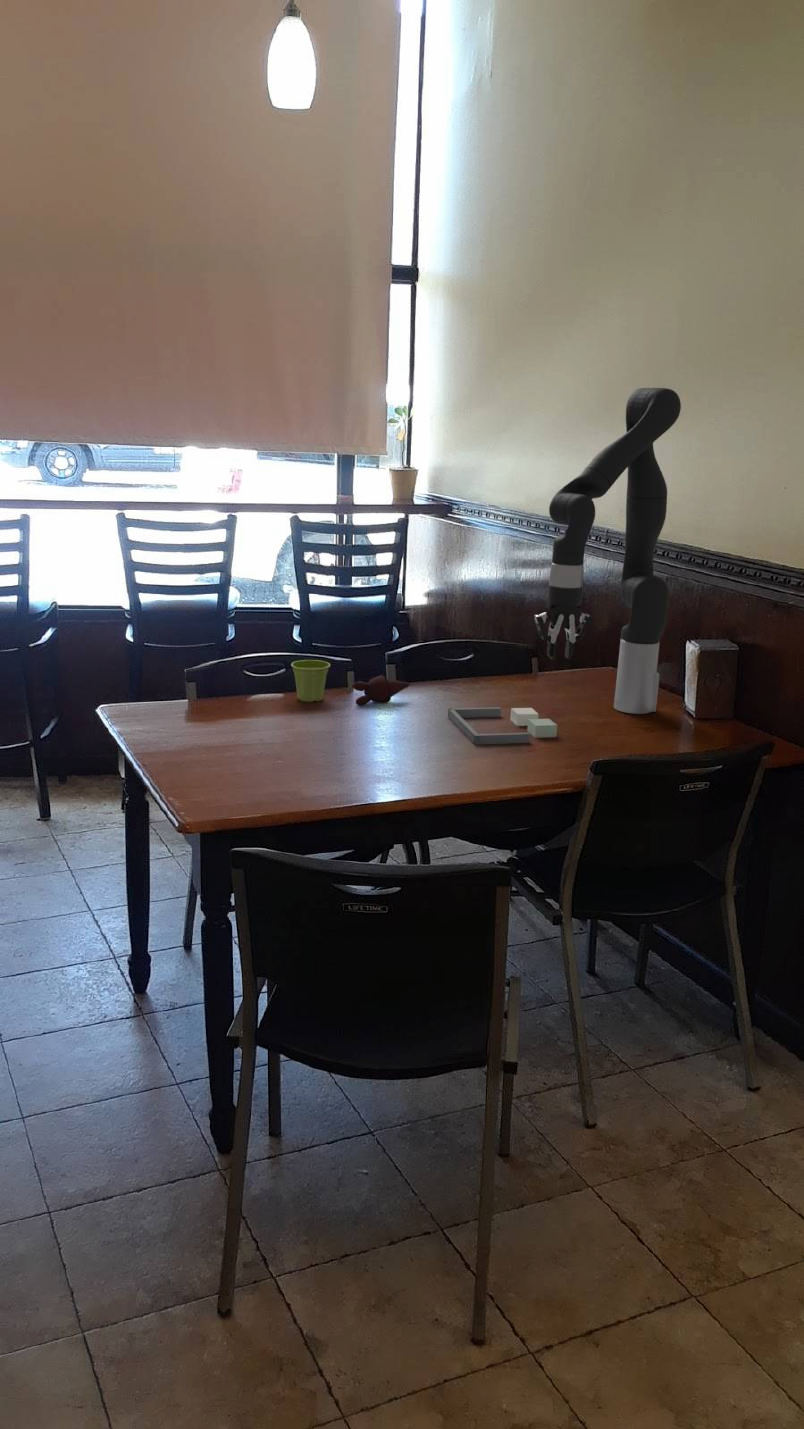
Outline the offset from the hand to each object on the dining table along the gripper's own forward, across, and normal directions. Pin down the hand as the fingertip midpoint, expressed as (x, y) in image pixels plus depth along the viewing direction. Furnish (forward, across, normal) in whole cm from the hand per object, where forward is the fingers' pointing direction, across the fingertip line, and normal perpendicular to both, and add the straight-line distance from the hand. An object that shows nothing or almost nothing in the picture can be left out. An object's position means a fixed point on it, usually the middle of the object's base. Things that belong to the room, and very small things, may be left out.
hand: (559, 657), depth 255 cm
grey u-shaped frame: (+15, +18, +4) cm, 24 cm away
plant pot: (+15, +54, -24) cm, 61 cm away
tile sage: (+15, +6, +9) cm, 19 cm away
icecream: (+15, +37, -20) cm, 45 cm away
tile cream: (+15, +8, 0) cm, 17 cm away
